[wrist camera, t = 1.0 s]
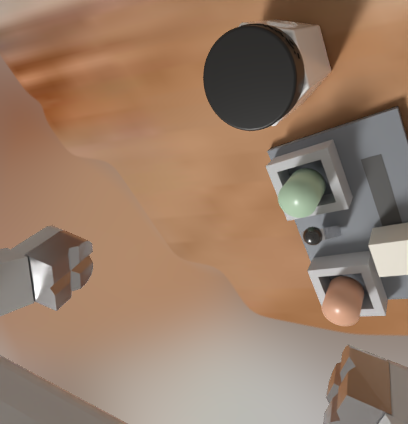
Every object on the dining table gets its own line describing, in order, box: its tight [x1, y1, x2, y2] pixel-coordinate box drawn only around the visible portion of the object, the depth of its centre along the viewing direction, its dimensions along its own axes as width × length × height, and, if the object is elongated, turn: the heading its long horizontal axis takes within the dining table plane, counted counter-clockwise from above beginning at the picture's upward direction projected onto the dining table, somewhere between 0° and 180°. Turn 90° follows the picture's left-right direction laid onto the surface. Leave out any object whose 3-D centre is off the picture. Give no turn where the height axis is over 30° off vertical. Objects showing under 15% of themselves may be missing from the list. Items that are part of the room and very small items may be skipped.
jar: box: [203, 20, 331, 131], centre depth 34 cm, size 9×8×12 cm
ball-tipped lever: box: [301, 225, 342, 245], centre depth 40 cm, size 2×2×7 cm
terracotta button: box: [322, 276, 364, 326], centre depth 42 cm, size 4×4×4 cm
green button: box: [278, 168, 326, 218], centre depth 38 cm, size 4×4×4 cm
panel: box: [266, 106, 408, 316], centre depth 41 cm, size 14×22×4 cm, turn 28°
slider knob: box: [368, 222, 408, 277], centre depth 38 cm, size 4×4×4 cm
